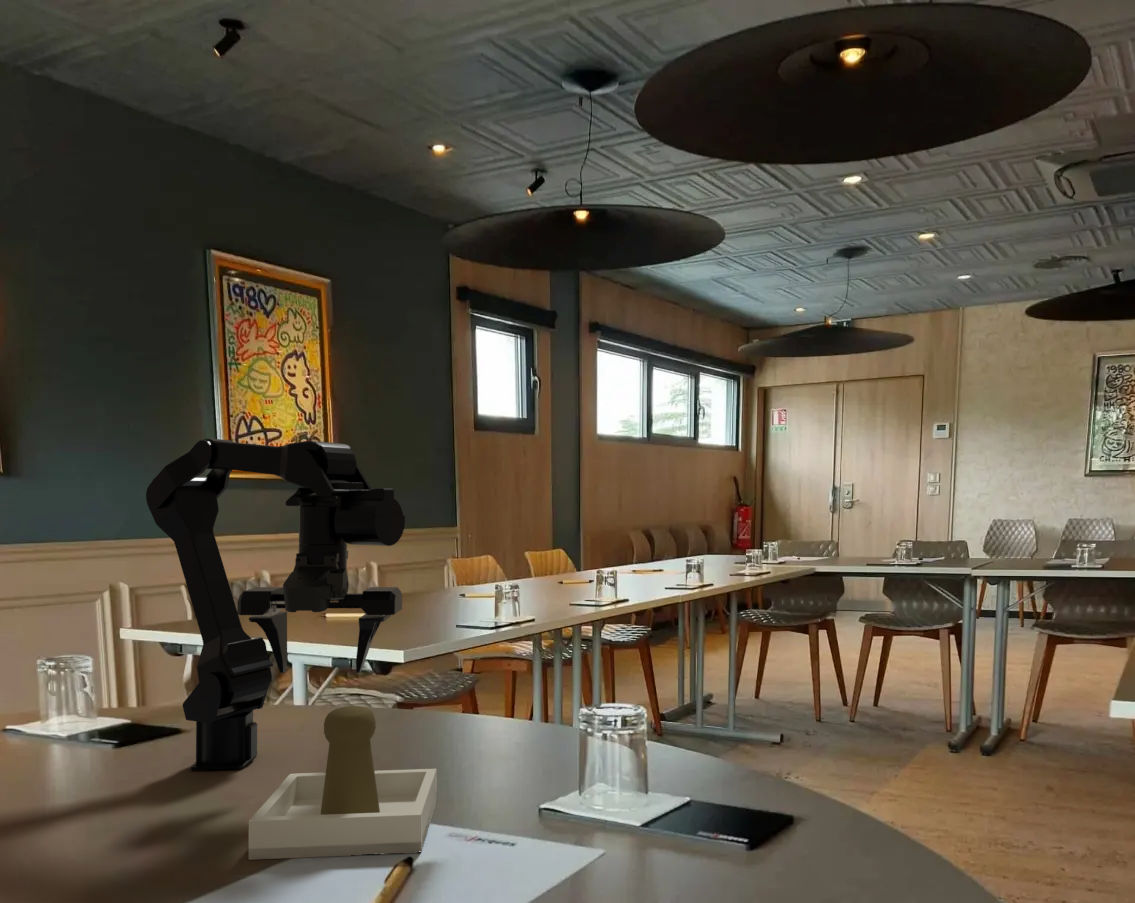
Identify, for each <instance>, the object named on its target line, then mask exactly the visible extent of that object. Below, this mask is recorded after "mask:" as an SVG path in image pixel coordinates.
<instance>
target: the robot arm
mask: <svg viewBox="0 0 1135 903" xmlns="http://www.w3.org/2000/svg"><path fill="white" fill-rule="evenodd" d="M206 470H210V471H209V472H208V473H207V475H204V474H203V473H204V472H205V471H206ZM233 471H238V472H248V473H255V474H256V473H257V474H265V475H274V476H277V477H278V478H281V479H282V480H283V481H285V482H287V483H290V484H292V485H295V486H298V488H297V489H296V490H295V492H294V493H293V494H292V495H291V496H290V497H288V498H287V499H286V500H285V505H286V507H298V508H299V511H298V514H299V516H298V517H299V518H298V553H296V554H295V561H294V562H295V564H294V568H293V570H292V572H290V573H289V575H288V577H287V578H286V580H285V581H284V582H283V584H282V586H270V587H269V586H265V587H264V586H263V587H262V586H255V587H253V588H249V589H247V590H243V591H242V592H241V593H240V594H239V597H238V599H237V607H236V603H235V600H234V599H235V598H234V596H233V592H232V590H231V586H230V582H229V579H228V576H227V573H226V569H225V567H224V562H223V559H222V556H221V552H220V550H219V546H218V543H217V539H216V536H215V533H214V528H215V525H216V522H217V517H218V515H219V511H220V510H219V502H218V499H219V497H220V496H222V494H223V493H224V491H226V490H227V489H228V487H229V483H230V482H229V481H230V476H231V474H232V472H233ZM145 500H146V505H147V507H148V510H149V512H150V514H151V515H152V518H153V520H154V523H155V524H156V526H157V527H158V528H159V529H160V530H161V531H162V532H163V533H165V534H166V535H167V536H168V537H169V539H171V540H172V541H173V542H174V543H173V544H174V546H175V549H176V553H177V556H178V560H179V564H180V566H181V571H182V574H183V577H184V581H185V584H186V588H187V591H188V595H189V598H190V602H191V604H192V607H193V608H192V609H193V612H194V615H195V619H196V621H197V626H198V630H199V633H200V635H201V639H202V648H201V651H200V655H199V658H198V662H197V664H196V671H197V678H198V684H196V685H195V688H193V690H192V691H191V692H190V694H189V695H188V696H187V698H186V699H185V700H184V701H183V703H182V709H183V713H184V718H185V720H186V721H191V722H195V762H194V763H192V764H191V765H190V771H208V770H209V771H210V770H211V771H212V770H213V771H214V770H234V769H235V770H237V769H242V768H244V767H245V766H246V765H248V764H249V763H250V762H251V761H252V760H253V759H254V758H255V757H257V755H258V723H257V722H256V721H254V710H259V709H263V707H264V704H265V701H266V696H267V694H268V693H267V692H268V690H269V688H270V684H271V683H272V682H273V675H272V669H271V668H272V667H273V666H274V663H273V662H272V660H270V657H269V654H268V649H267V645H266V641H265V640H264V638H263V637H262V636H261V637H255V638H252V637H251V636H250V635H249V634H248V633H246V631H245V630H244V628H243V626H242V622H241V620H240V616H250V617H248V621H249V622H250V623H256V624H257V625H258V626H259V627H260V629H262V631H263V632H264V634H265V636H266V638H267V640H268V642H269V646H270V648H271V650H272V653H273V654H272V655H273V656H274V659H275V663H276V665H277V668H278V671H279V674H284V673H286V671H287V665H288V664H287V663H288V613H296V612H304V611H305V612H307V611H308V612H309V611H311V612H312V613H322V612H325V611H326V610H327V609H361V610H362V611H363V612H364V614H363V615H362V616H360V617H358V628H359V629H358V630H359V631H358V632H359V633H358V639H357V649H356V658H355V673H356V674H360V673H361V672H362V669H363V667H364V664H365V662H366V658H367V656H368V654H369V651H370V648H371V645H372V642H373V639H374V638H375V635H376V634H377V631H378V629H379V628H380V625H381V623H383V622H386V620H388V619H390V617H392V616H393V615H396V614H397V613H399V611H401V610H402V609H403V592H402V591H401V590H400V589H399V587H398V586H394V587H393V586H390V587H389V586H388V587H387V586H371V587H368V588H367V589H364V590H362V592H360V593H358V592H357V593H353V592H352V593H350V592H349V586H350V585H349V576H348V572H347V568H348V567H347V566H348V565H347V564H348V558H349V550H348V544H349V545H352V546H353V545H354V546H355V545H356V546H382V547H383V546H384V547H386V546H387V547H391V546H394V545H395V544H398V542H399V541H400V540H401V538H402V536H403V534H404V531H405V527H406V526H405V524H406V516H405V515H404V513H403V512H404V511H403V509H402V506H401V504H400V503H399V501H398V500H397V499H395V490H394V489H393V488H383V487H382V488H380V487H379V488H378V487H377V488H372V487H371V484H370V483H369V481H368V480H367V478H366V476H365V475H364V473H363V472H362V469H361V468H360V466H359V464H358V463H357V459H356V456H355V453H354V452H353V450H352V447H351V446H350V445H348V444H345V443H342V442H341V443H339V442H328V441H316V440H303V441H298V442H289V443H286V444H284V445H279V446H278V445H277V446H275V445H268V444H267V445H265V444H255V443H245V442H237V441H235V442H234V441H233V440H229V439H222V438H221V439H219V438H203V439H201V440H199V441H197V442H196V443H195V444H194V446H192V448H191V449H190V450H189V451H188V452H186V453H185V454H183V455H182V456H179V457H178V458H176V459H175V460H172V461H171V462H170V463H168V464H166V465H165V466H164V467H163V468H162V469H161V471H160V472H159V473H158V474H157V475H156V476H155V477H154V478H152V481H151V482H150V484H148V486H147V488H146V492H145ZM348 592H349V593H348ZM282 609H284V610H285V611H281V610H282Z"/></svg>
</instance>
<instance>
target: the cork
mask: <svg viewBox="0 0 1135 903" xmlns="http://www.w3.org/2000/svg"><path fill="white" fill-rule="evenodd" d="M376 722H377V721H376V718H375V713H374V712H373V711H372V709H371V708H369V707H366V706H359V705H349V706H343V707H339V708H335V709H333V710H331V711H330V712H328V713H327V715H326V717H325V718H324V722H323V734H324V737H325V739H326V741H327V742H328V745H329V746H328V753H327V761H326V767H325V773H326V775H325V783H324V790H323V798H322V806H321V814H320V815H329V814H355V813H380V809H379V802H378V794H377V787H376V779H375V772H374V771H375V765H374V757H373V752H372V744H371V739H372V738H373V736H374V735H375V732H376V731H375V730H376V727H377V726H376V725H377V724H376Z"/></svg>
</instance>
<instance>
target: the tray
mask: <svg viewBox="0 0 1135 903" xmlns="http://www.w3.org/2000/svg"><path fill="white" fill-rule="evenodd" d="M437 771H438V770H437V768H417V769H416V768H415V769H414V768H413V769H412V768H411V769H387V770H374V772H375V779H376V787H377V794H378V802H379V809H380V813H355V814H329V815H320V814H321V806H322V798H323V790H324V783H325V775H326V772H303V773H298V772H297V773H290V774H289V775H287V777H286V778H285V779H284V780H283V782H281V783H280V785H279V786H278V787H277V789H276V790H274V792H273V793H272V794H271V795H270V796H269V797H268V799H266V801H265V802H264V803H263V804H262V805H261V806H260V808H259V809H257V811H256V812H255V813H254V814H253V815H252V816H251V818H250V819H249V821H248V861H249V860H254V861H255V860H276V859H278V860H279V859H299V858H301V859H303V858H324V857H325V858H326V857H327V858H328V857H329V858H330V857H348V856H349V857H352V856H351V855H355V856H363V855H362V854H375V853H377V854H380V855H382V854H381V853H384V854H383V855H387V854H386V853H405V854H413V853H412V852H419V851H423V849H422V847H423V848H424V845H423V844H425V842H424V841H426V839H425V838H427V836H428V832H429V829H430V825H431V821H432V818H433V815H434V811H435V808H436V806H437V805H436V804H437V801H438V794H437V793H438V791H437V790H438V788H437V787H438V785H437V784H438V782H437V781H438V780H437V779H438V777H437V776H438V775H437ZM428 828H429V829H428Z"/></svg>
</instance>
